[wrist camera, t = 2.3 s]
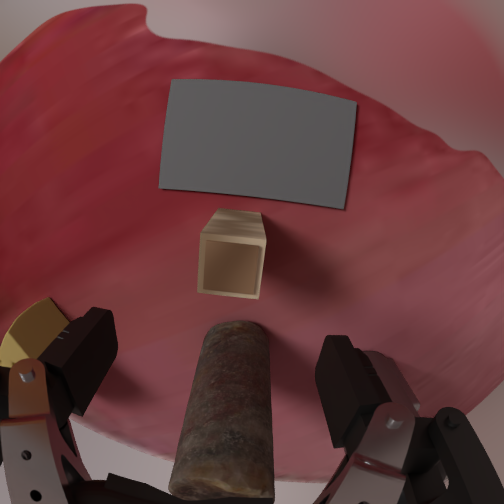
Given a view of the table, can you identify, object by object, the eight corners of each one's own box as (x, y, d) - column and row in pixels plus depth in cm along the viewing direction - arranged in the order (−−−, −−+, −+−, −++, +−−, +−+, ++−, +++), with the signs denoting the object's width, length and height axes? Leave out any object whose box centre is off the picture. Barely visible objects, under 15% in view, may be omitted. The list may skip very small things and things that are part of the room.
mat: (355, 102, 23) (356, 102, 22) (342, 208, 26) (343, 209, 26) (172, 80, 22) (171, 79, 22) (160, 187, 25) (158, 188, 25)
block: (260, 212, 26) (266, 241, 16) (255, 252, 27) (258, 300, 18) (218, 208, 26) (199, 233, 16) (215, 248, 27) (196, 294, 17)
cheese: (69, 372, 33) (41, 412, 24) (25, 321, 31) (-10, 355, 21) (99, 350, 32) (66, 398, 22) (48, 290, 29) (4, 326, 19)
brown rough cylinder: (209, 367, 32) (185, 515, 13) (196, 318, 30) (148, 482, 10) (271, 362, 32) (285, 516, 12) (265, 311, 29) (281, 487, 10)
